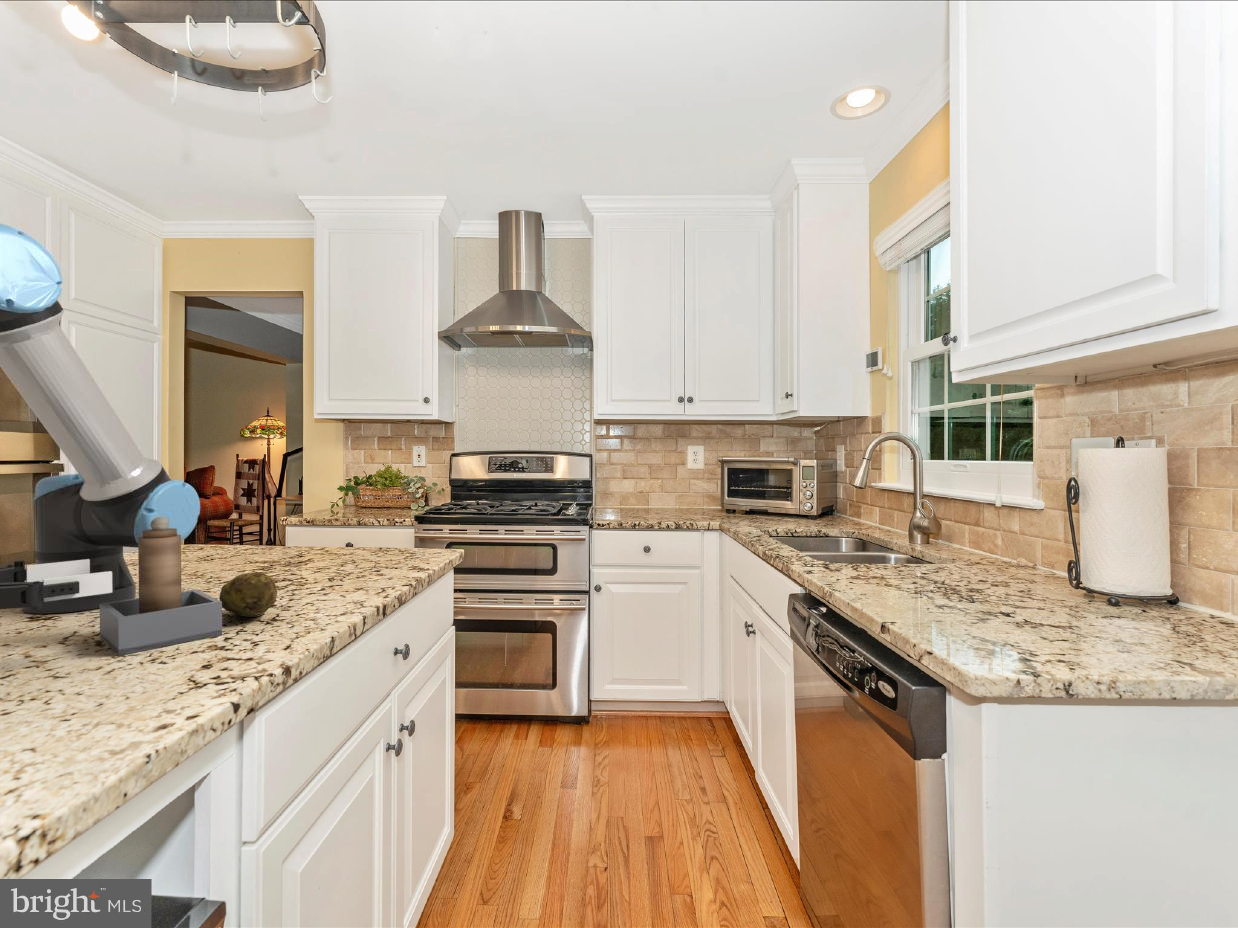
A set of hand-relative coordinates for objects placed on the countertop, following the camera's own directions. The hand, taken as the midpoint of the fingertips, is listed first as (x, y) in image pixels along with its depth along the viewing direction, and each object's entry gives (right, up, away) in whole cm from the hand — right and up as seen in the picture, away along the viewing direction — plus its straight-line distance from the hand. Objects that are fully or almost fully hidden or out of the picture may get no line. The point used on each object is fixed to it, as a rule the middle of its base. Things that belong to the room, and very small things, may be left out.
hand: (100, 574), depth 83 cm
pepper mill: (+4, -9, +5) cm, 12 cm away
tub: (+4, -10, +6) cm, 12 cm away
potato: (+11, -10, +15) cm, 22 cm away
